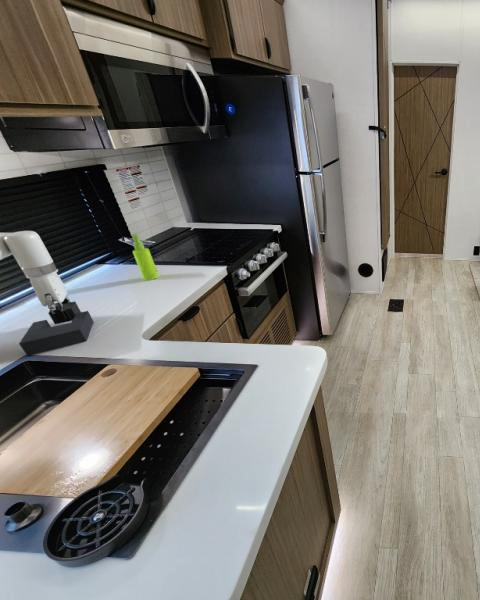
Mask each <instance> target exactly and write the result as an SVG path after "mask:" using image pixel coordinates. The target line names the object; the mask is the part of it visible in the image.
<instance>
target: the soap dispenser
mask: <svg viewBox="0 0 480 600" xmlns="http://www.w3.org/2000/svg"><path fill="white" fill-rule="evenodd" d="M130 236H131V237H132V239H133V241H134V242H133V243H132V245H133V248H134V250H132V254H133V258H134V259H135V262H136V264H137V267H138V269H139V271H140V274H141V276H142V279H143V281H152V280H151V279H153V280H155V278H156V279H158V278H159V277H160V274H159V272H158V270H157V266H156V264H155V261H154V259H153V256H152V254H151V251H150V249H149V248H147V247H145V245H144V243H143V241H141V240H140V238H139V235H138V233H130ZM158 276H159V277H158ZM157 277H158V278H157Z"/></svg>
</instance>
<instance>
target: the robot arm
mask: <svg viewBox="0 0 480 600" xmlns="http://www.w3.org/2000/svg"><path fill="white" fill-rule="evenodd" d="M10 256H13V257H14V259H15V261H16V262H17V264H18V265H19V267H20V269H21V271H22V272H23V274H24V276H25V277H26V279H28V280H29V282H30V285H31V288H32V289H33V291H34V293H35V295H36V297H37V299H38V301H39V303H40V305H41V306H42V307H47V308H48V309H49V311H50V310H51V311H52V313H53V314H54V315H55V317H56V319H57V320H58V322H59V324H63V323H62V322H64V323H68V322H72V321H71V318H70V316H69V314H68V312H67V311H66V310H64V307H63V305H62V304H65V303H69V302H71V300H70V298H69V297H68V290H67V288H66V286H65V284H64V282H63V281H62V279H61V277H60V276H59V274H58V272H59V269H58V267H57V265H56V264H55V261H54V260H53V258H52V256H51V255H50V253H49V251H48V249H47V247H46V245H45V244H44V241H43V240H42V238H41V236H40V235H39V234H38V233H37V232H36V231H34V230H20V231H13V232H0V261H1V260H3V259H6V258H8V257H10ZM55 305H59V307H60V308H59V307H58V306H57V307H56V306H55ZM67 321H68V322H67Z"/></svg>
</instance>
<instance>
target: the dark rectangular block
mask: <svg viewBox="0 0 480 600" xmlns="http://www.w3.org/2000/svg"><path fill="white" fill-rule="evenodd" d="M93 325H94V320H93V317H92V315H91V314H90V312H89V310H86V311H81V312H80V313H76V314H75V316H74V318H73V321H71V322H66V323H62V324H57V325H54V326H51V324H50V323H49V322H48V320H47V319H43V320H39V321H33V322H32V324H31V325H30V326H29V328H28V330H27V331H26V332H25V333H24V335H23V336H22V339H21V340H20V342H19V343H18V344H19V346H20V348H21V349H22V350H23V352H24V353H25V355H26V356H27V355H28V356H31V355H35V354H39V353H44V352H47V351H52V350H56V349H60V348H64V347H68V346H73V345H76V344H80V343H86V342H87V341H88V339H89V336H90V332H91V331H92V327H93Z"/></svg>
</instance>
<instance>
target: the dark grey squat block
mask: <svg viewBox="0 0 480 600" xmlns="http://www.w3.org/2000/svg"><path fill="white" fill-rule="evenodd" d="M62 305H63V307H64V310H66V311H67V312H68V314H69V316H70V318H71V321H70V322H72V321H73V318H74V316H75V314H76V313H80V312H82V311H81V309H80V308H79V305H78V303H77V302H76V301H75V300H74V301H70V302H69V303H65V304H62ZM55 306H56V307H57V306H58V307H59V305H55ZM59 308H60V307H59ZM47 313H48V315H49V317H50V318H51V320H52V322H53V324H54V325H60V323H59V322H58V320H57V319H56V317H55V315H54V314H53V313H52V311H51V310H50V309H49V311H48V312H47ZM66 323H69V321H67V322H66ZM61 324H65V322H62V323H61Z"/></svg>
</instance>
